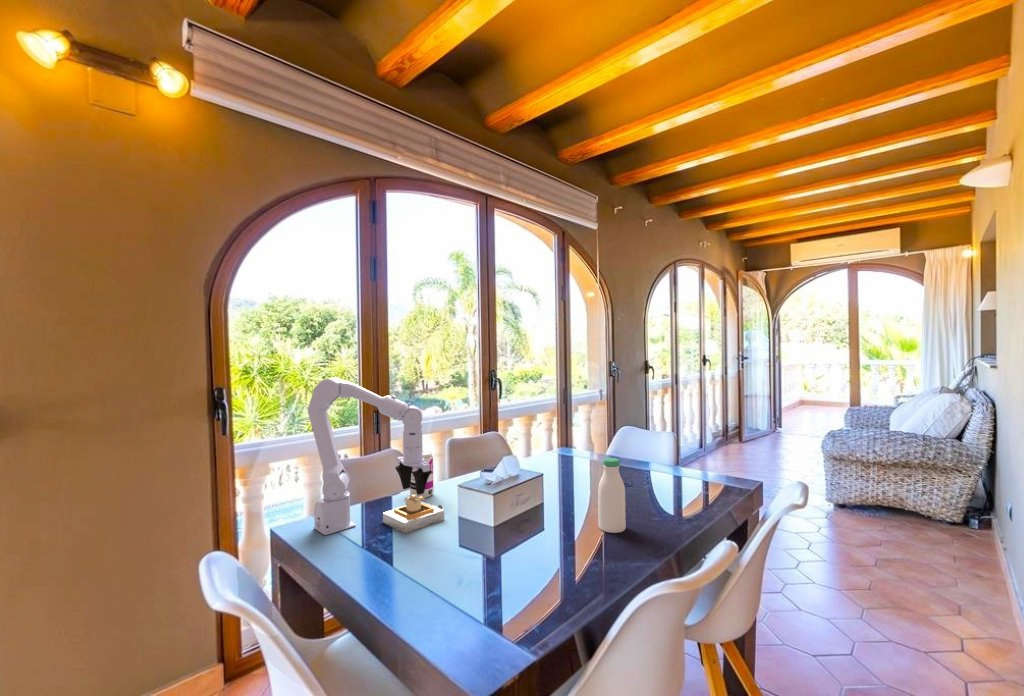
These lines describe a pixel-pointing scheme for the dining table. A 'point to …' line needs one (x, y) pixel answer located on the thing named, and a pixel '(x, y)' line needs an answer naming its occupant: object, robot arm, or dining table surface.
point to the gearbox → (413, 517)
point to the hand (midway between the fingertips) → (413, 491)
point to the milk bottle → (611, 498)
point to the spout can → (413, 504)
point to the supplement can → (429, 484)
